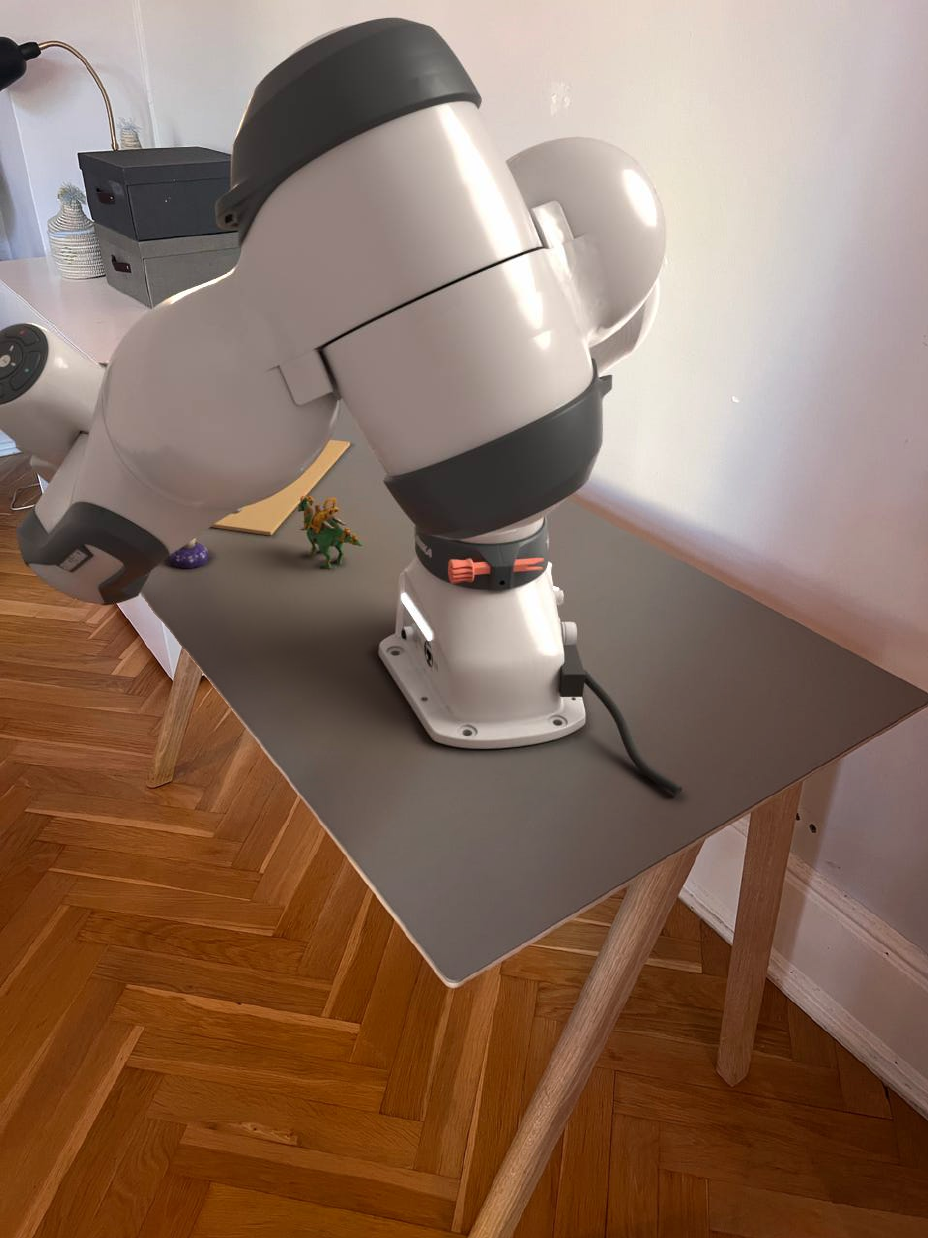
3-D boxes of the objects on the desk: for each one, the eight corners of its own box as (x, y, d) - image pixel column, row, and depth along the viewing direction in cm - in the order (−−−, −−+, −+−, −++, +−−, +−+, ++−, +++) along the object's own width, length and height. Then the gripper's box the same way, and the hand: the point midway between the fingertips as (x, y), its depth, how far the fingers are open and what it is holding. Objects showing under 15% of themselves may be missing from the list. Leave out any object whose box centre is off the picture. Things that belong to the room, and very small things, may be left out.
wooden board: (271, 535, 107) (270, 531, 107) (176, 522, 109) (176, 518, 109) (350, 445, 132) (350, 441, 132) (272, 435, 134) (271, 432, 134)
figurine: (312, 539, 107) (308, 475, 102) (374, 580, 100) (373, 512, 95) (289, 547, 105) (285, 481, 101) (351, 588, 98) (349, 520, 93)
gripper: (-5, 468, 83) (75, 519, 96) (205, 495, 80) (257, 544, 93) (14, 404, 84) (90, 464, 98) (222, 429, 81) (271, 487, 95)
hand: (173, 503), depth 95 cm, fingers closed
